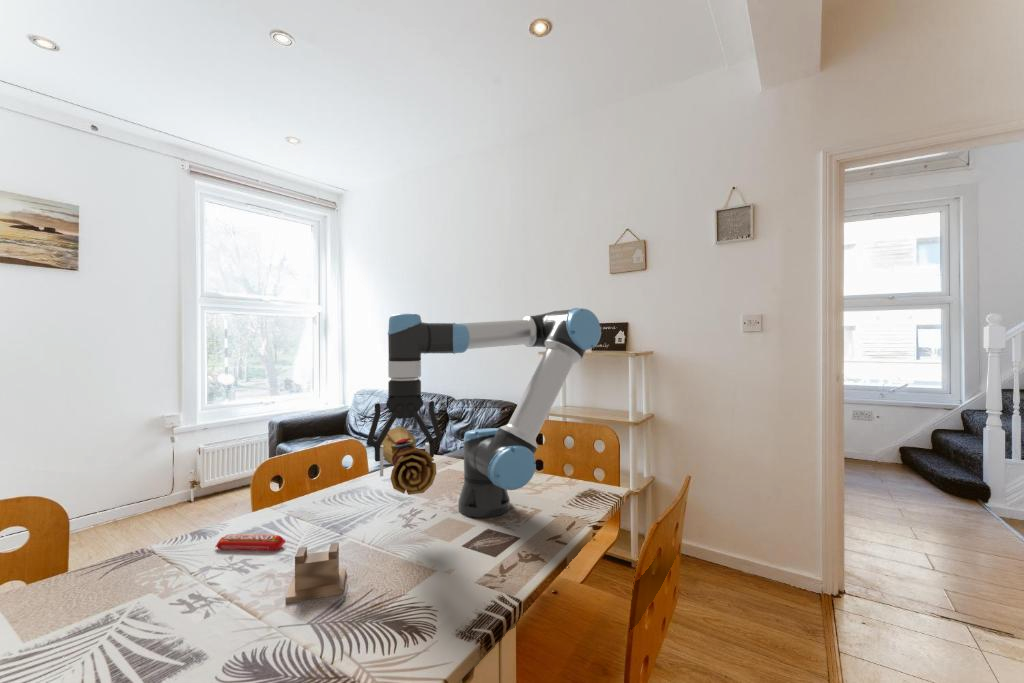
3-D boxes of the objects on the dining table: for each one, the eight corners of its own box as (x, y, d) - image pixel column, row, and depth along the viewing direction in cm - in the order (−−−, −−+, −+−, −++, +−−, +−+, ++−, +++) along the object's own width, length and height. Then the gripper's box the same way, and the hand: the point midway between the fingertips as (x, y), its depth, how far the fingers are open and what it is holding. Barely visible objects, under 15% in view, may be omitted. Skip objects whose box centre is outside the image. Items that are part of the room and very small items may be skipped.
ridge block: (346, 572, 91) (345, 537, 91) (342, 593, 83) (342, 555, 83) (294, 580, 88) (293, 543, 88) (285, 603, 80) (285, 563, 80)
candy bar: (212, 552, 101) (212, 539, 101) (224, 544, 104) (224, 532, 104) (278, 553, 100) (278, 540, 100) (287, 546, 103) (287, 533, 103)
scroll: (437, 494, 91) (437, 447, 91) (391, 500, 87) (390, 451, 88) (415, 461, 116) (415, 424, 116) (378, 465, 113) (378, 427, 113)
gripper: (449, 376, 109) (449, 464, 109) (355, 378, 102) (355, 472, 102) (454, 378, 102) (454, 473, 102) (353, 381, 95) (353, 482, 95)
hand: (404, 472), depth 102 cm, fingers closed on scroll, 10 cm apart
